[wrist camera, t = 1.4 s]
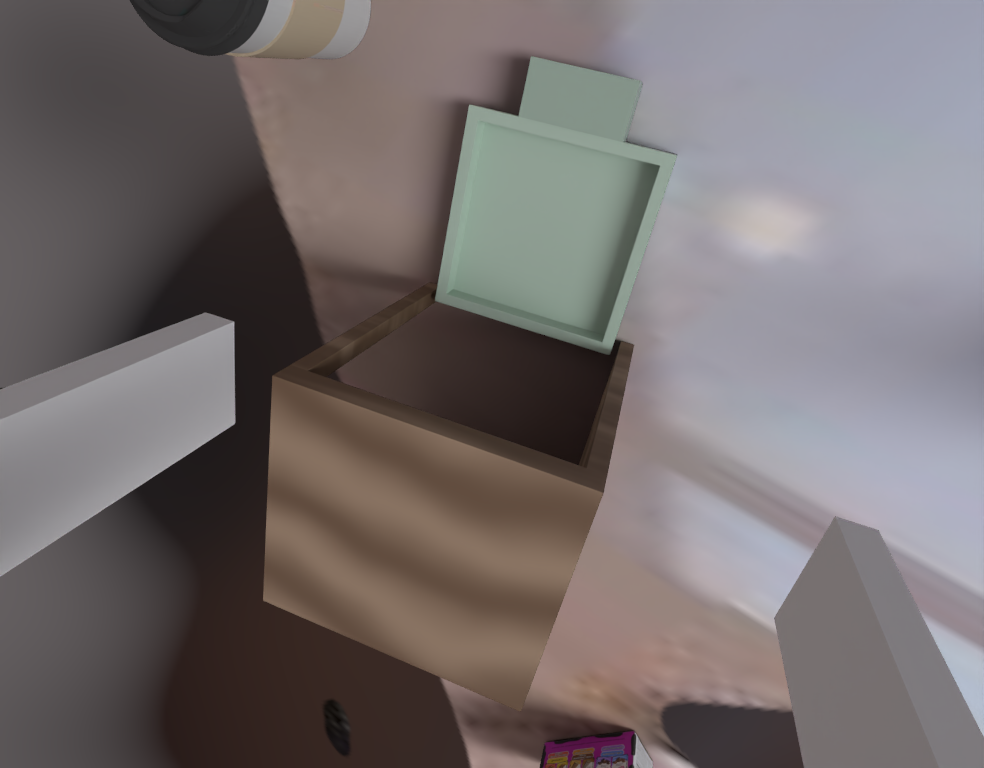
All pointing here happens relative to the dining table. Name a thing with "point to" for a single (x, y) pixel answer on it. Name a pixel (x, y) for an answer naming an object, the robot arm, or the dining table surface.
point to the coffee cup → (259, 26)
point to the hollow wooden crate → (424, 520)
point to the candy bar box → (597, 752)
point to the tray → (553, 207)
